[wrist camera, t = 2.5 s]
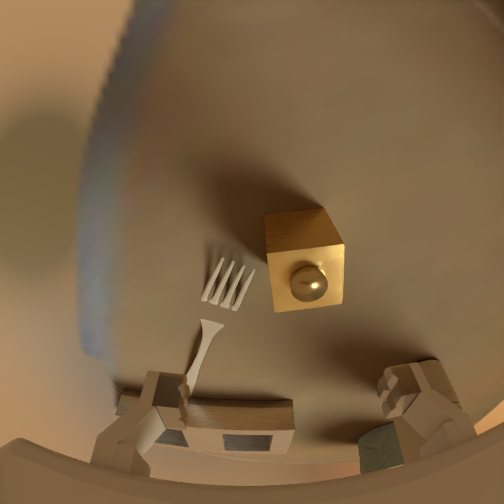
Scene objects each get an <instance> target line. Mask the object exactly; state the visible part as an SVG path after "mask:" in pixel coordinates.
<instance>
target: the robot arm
mask: <svg viewBox="0 0 504 504" xmlns="http://www.w3.org/2000/svg"><path fill="white" fill-rule="evenodd" d="M383 373H384V376H382V377H381V378H380V379H379V381H378V383H377V394H378V397H379V399H380V400H382V401H383V404H382V409H383V412H384V415H385V418H392V417H397V416H402V417H403V418H404V419H405V420H406V421H407V422H408V423H409V424H410V425H411V426H412V427H413V428H414V429H415V430H416V431H417V432H418V433H419V434H420V435H421V436H422V437H423V438H424V439H425V440H426V442H425V443H424V444H423V445H422V446H421V447H420V448H419V452H420V456H421V458H420V459H417V460H414V461H410V462H407V463H404V464H400V465H397V466H393V467H390V468H386V469H382V470H378V471H374V472H369V473H365V474H360V475H355V476H350V477H344V478H338V479H332V480H326V481H318V482H310V483H300V484H288V485H271V486H223V485H206V484H194V483H184V482H176V481H169V480H162V479H156V478H150V473H151V467H150V466H149V465H148V464H147V462H146V461H145V460H144V459H143V458H142V456H143V455H144V453H145V452H146V451H147V450H148V449H149V448H150V446H151V445H152V444H153V443H154V442H155V441H156V440H157V439H158V438H159V436H160V435H161V434H162V433H163V432H164V431H165V429H166V428H173V429H186V427H187V419H188V414H187V411H186V409H187V408H188V407H189V404H190V389H189V385H187V377H186V375H185V374H174V373H164V372H156V371H148V373H147V374H146V378H145V381H144V385H143V389H142V392H141V396H140V400H139V404H134V405H133V406H132V407H131V408H130V409H128V410H127V411H126V412H125V413H124V414H123V415H121V416H120V417H119V418H118V419H117V420H116V421H115V422H113V423H112V424H111V425H110V426H109V427H108V428H106V429H105V430H104V431H103V432H102V433H101V434H99V435H98V436H97V440H96V443H95V447H94V450H93V454H92V458H91V461H90V463H87V462H84V461H81V460H78V459H75V458H72V457H68V456H66V455H63V454H60V453H58V452H55V451H52V450H50V449H47V448H45V447H42V446H40V445H38V444H35V443H33V442H31V441H29V440H26V439H23V438H17V439H14V440H13V441H11V442H9V443H7V444H6V445H4V446H2V447H1V448H0V504H504V422H503V423H501V424H499V425H497V426H495V427H493V428H491V429H489V430H488V431H485V432H484V433H481V434H480V435H477V433H476V431H475V429H474V426H473V424H472V422H471V419H470V417H469V415H468V414H467V413H466V412H465V411H463V410H462V409H460V408H459V407H458V406H456V405H455V404H453V403H452V402H451V401H449V400H448V399H447V398H445V397H444V396H442V395H441V394H440V393H438V392H437V391H436V390H431V388H430V386H429V383H428V381H427V379H426V377H425V375H424V373H423V371H422V369H421V367H420V365H419V364H418V363H417V362H414V363H409V364H402V365H396V366H390V367H387V368H385V370H384V372H383Z"/></svg>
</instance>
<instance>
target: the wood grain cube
mask: <svg viewBox="0 0 504 504" xmlns="http://www.w3.org/2000/svg"><path fill="white" fill-rule="evenodd" d="M264 224H265V237H266V250H267V259H268V266H269V274H270V281H271V288H272V295H273V303H274V310H275V313H276V312H284V311H292V310H300V309H308V308H315V307H322V306H329V305H336V304H342V299H343V275H344V243H343V241H342V239H341V237H340V235H339V233H338V232H337V230H336V228H335V226H334V224H333V223H332V221H331V219H330V217H329V215H328V214H327V212H326V210H325V208H317V209H308V210H299V211H291V212H283V213H275V214H267V215H264Z"/></svg>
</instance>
